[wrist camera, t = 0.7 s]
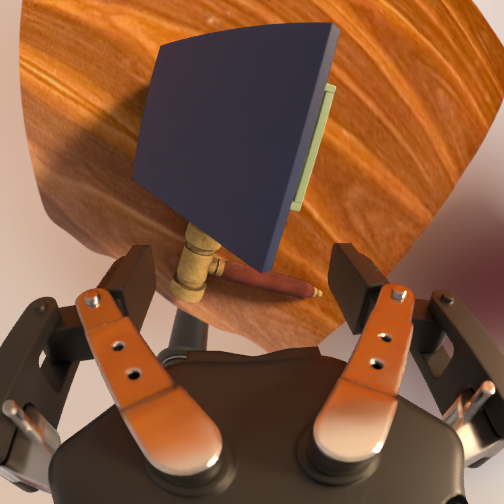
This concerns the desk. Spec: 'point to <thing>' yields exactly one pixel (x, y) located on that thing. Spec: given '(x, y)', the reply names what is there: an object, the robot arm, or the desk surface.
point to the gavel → (225, 271)
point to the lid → (234, 129)
